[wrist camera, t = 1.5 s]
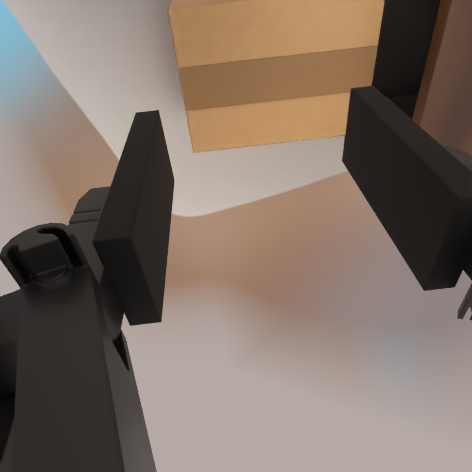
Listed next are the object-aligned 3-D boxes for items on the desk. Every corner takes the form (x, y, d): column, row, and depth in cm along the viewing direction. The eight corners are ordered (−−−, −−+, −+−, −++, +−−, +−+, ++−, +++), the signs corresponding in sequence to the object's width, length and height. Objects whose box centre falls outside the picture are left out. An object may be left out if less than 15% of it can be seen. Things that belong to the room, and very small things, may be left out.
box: (194, 100, 38) (193, 153, 29) (176, -13, 32) (167, 9, 23) (324, 85, 38) (364, 133, 29) (333, -31, 32) (388, -16, 23)
